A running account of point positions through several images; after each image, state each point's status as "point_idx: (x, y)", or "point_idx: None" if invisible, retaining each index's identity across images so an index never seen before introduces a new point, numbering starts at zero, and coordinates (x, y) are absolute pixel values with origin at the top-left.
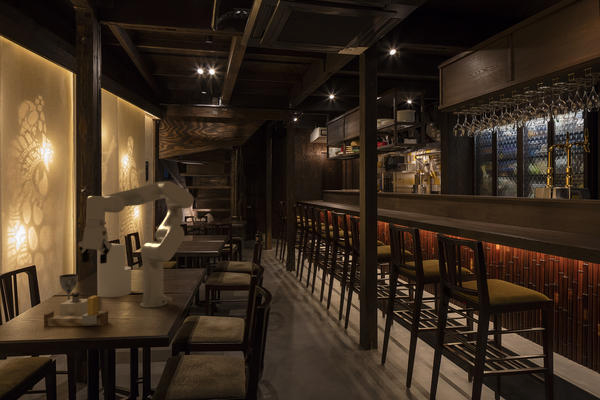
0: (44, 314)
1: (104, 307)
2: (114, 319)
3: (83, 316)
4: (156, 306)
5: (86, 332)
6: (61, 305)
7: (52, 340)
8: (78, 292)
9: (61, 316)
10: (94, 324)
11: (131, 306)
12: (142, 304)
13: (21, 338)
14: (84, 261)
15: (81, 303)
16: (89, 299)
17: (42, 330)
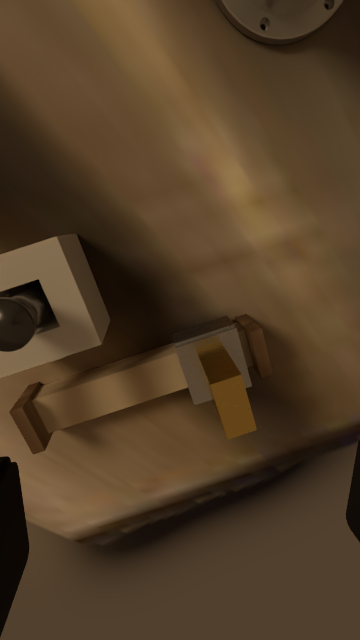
0: (34, 453)
1: (35, 97)
2: (244, 274)
3: (199, 401)
4: (331, 15)
5: None
6: (6, 374)
7: (203, 497)
8: (6, 309)
9: (71, 393)
10: None
11: (173, 30)
12: (248, 17)
13: (97, 516)
14: (25, 548)
15: (97, 337)
16: (236, 432)
17: (86, 451)
